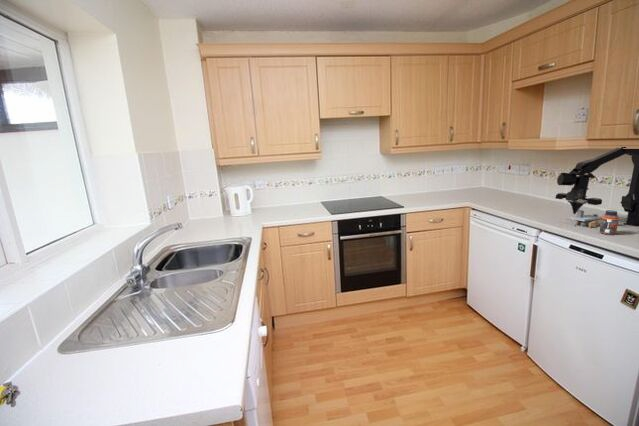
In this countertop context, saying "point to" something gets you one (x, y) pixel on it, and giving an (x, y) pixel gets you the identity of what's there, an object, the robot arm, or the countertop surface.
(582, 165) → the robot arm
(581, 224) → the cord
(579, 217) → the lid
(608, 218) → the supplement bottle
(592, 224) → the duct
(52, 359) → the countertop surface
